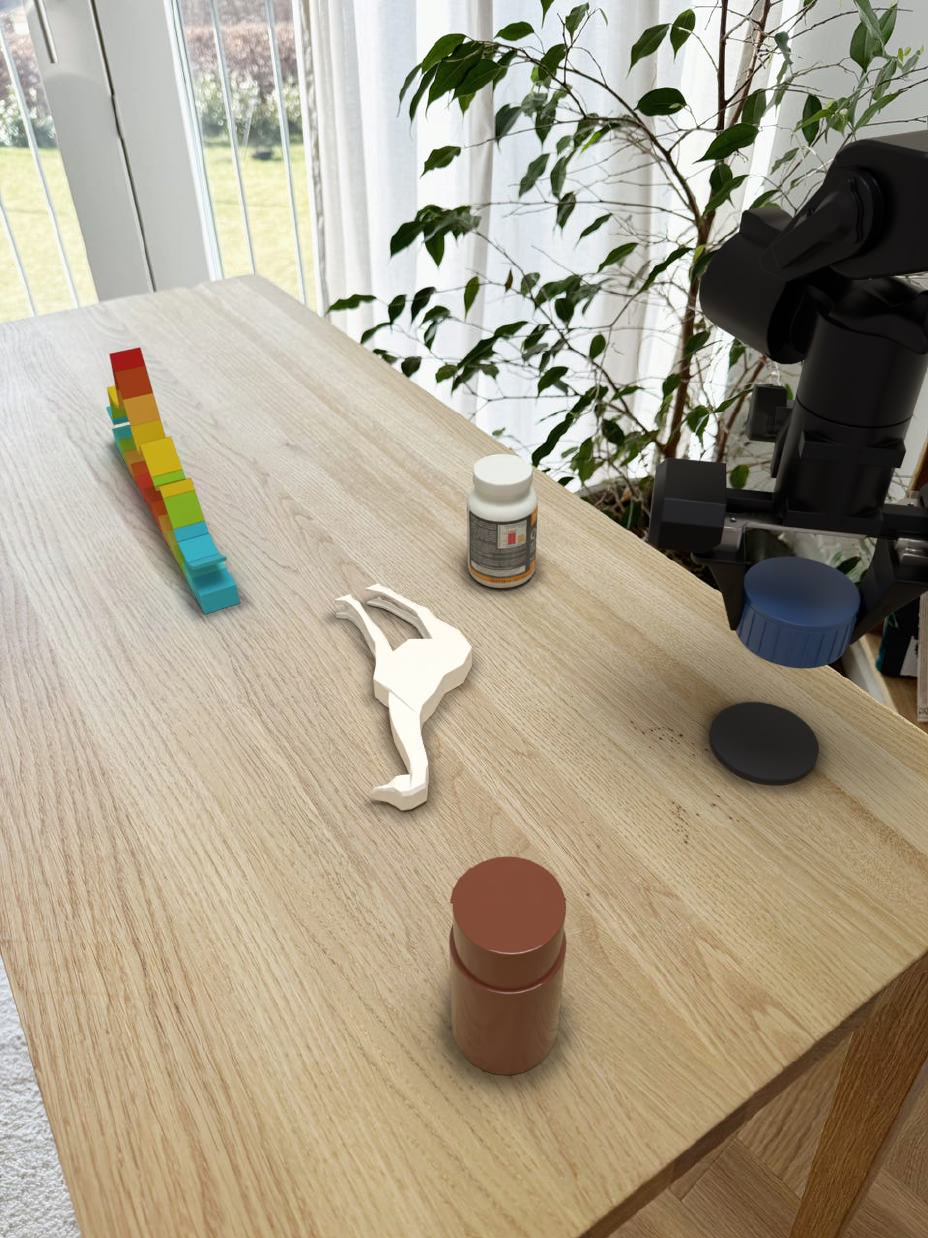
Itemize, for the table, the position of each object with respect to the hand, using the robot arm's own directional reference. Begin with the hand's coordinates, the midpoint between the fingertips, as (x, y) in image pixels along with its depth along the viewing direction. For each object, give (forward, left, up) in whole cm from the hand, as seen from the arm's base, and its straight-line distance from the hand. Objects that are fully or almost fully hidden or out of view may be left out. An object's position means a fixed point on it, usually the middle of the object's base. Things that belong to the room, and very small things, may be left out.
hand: (790, 633), depth 59 cm
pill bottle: (+21, -17, -11) cm, 29 cm away
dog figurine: (+26, -1, -11) cm, 28 cm away
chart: (+52, -19, -11) cm, 56 cm away
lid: (0, 0, 0) cm, 0 cm away
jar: (+14, +22, -10) cm, 28 cm away
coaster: (0, -1, -10) cm, 11 cm away
